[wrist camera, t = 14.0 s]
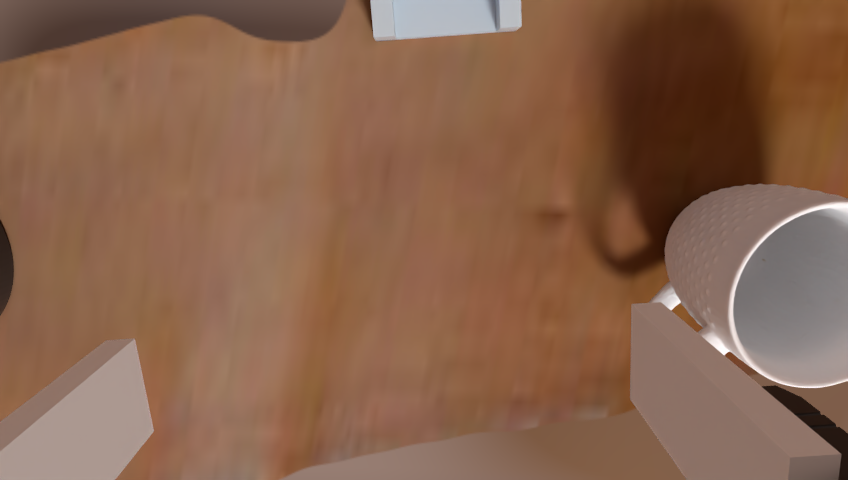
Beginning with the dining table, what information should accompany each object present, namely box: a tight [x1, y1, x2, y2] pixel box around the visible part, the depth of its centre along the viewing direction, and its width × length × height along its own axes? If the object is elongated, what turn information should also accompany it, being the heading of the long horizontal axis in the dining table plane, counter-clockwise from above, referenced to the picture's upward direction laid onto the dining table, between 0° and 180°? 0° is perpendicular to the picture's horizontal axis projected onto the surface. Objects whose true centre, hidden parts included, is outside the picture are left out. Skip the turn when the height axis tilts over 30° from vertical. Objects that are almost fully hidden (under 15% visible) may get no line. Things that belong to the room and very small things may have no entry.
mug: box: [649, 184, 848, 388], centre depth 38 cm, size 15×11×13 cm
